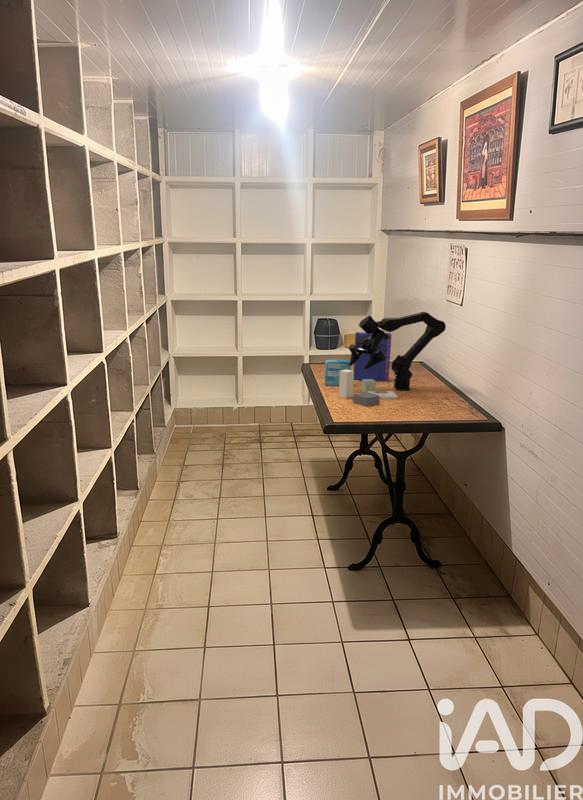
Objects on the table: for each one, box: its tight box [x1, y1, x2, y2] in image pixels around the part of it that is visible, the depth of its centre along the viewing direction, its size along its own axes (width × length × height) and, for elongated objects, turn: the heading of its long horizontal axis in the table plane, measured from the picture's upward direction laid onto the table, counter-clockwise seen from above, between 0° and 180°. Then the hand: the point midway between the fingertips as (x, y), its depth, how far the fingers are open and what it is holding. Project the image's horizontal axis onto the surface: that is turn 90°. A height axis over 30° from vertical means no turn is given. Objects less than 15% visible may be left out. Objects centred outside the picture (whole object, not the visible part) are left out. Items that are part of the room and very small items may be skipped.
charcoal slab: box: [352, 391, 380, 407], centre depth 263 cm, size 8×8×4 cm
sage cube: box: [361, 379, 377, 392], centre depth 285 cm, size 5×5×5 cm
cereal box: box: [353, 331, 392, 382], centre depth 304 cm, size 17×5×24 cm, turn 88°
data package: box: [324, 359, 352, 387], centre depth 294 cm, size 12×4×12 cm, turn 93°
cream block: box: [338, 369, 354, 399], centre depth 272 cm, size 4×4×12 cm
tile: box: [367, 390, 398, 399], centre depth 276 cm, size 12×9×1 cm
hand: (357, 367), depth 275 cm, fingers open, 9 cm apart
